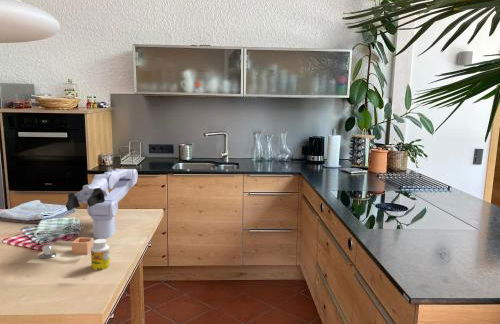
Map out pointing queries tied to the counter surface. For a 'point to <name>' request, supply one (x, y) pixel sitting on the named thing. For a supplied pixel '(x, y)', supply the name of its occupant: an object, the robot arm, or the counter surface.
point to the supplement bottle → (100, 255)
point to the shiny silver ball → (47, 252)
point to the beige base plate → (59, 254)
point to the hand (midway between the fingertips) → (78, 206)
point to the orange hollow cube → (82, 245)
